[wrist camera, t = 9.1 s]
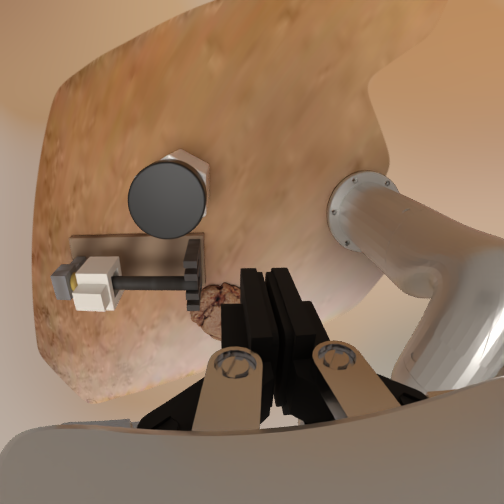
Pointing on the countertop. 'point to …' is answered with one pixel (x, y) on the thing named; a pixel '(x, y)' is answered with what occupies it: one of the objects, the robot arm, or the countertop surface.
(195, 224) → the jar
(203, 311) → the cookie
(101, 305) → the sleeve
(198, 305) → the comb rig
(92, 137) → the countertop surface
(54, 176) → the countertop surface
